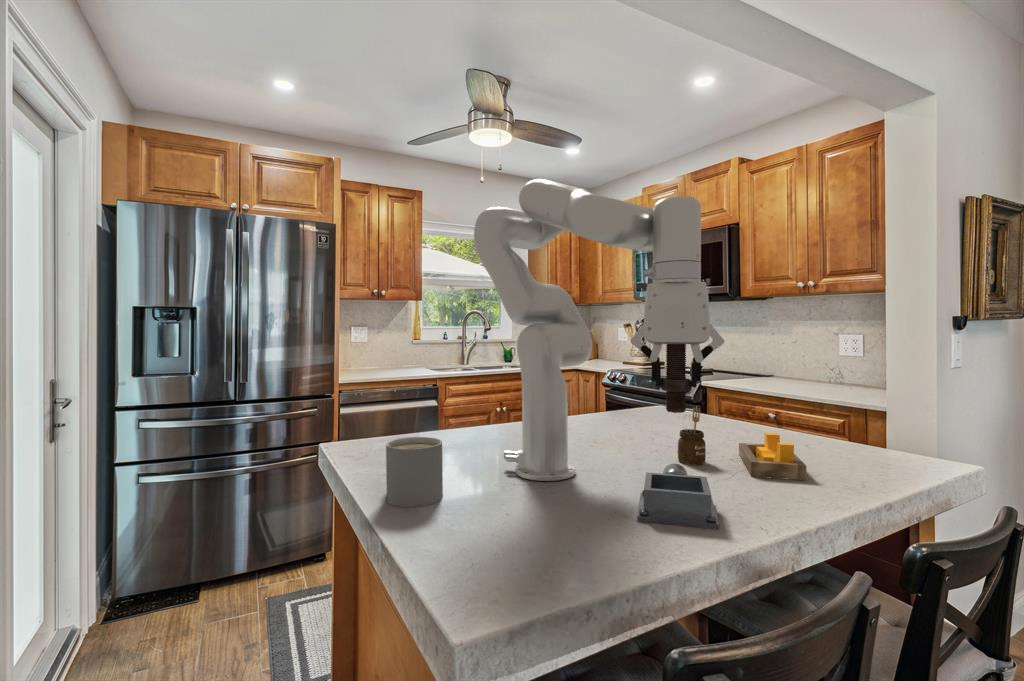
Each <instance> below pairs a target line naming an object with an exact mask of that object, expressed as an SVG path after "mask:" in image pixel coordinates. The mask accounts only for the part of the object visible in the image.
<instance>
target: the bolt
mask: <svg viewBox="0 0 1024 681" xmlns="http://www.w3.org/2000/svg"><path fill="white" fill-rule="evenodd" d="M683 324H684V323H682V324H681V325H683ZM682 328H684V326H683V327H682ZM665 356H666V357H665V377H663V378H662V379H661V386H659V387H660V389H661V390H662V391H664V392H665V395H666V396H665V397H666V398H665V399H666V400H665V410H666V411H667V412H668V413H674V414H680V413H681V414H683V413H685V412H686V411H687V410H686V409H687V408H686V407H687V406H686V403H687V400H686V399H687V395H686V392H690V390H692V388H693V387H692V381H691V378H687V373H686V372H687V371H686V370H687V367H686V366H687V344H665Z"/></svg>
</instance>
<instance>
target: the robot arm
mask: <svg viewBox="0 0 1024 681" xmlns="http://www.w3.org/2000/svg"><path fill="white" fill-rule="evenodd" d="M518 203H519V207H520V209H521V210H520V209H515V208H510V207H505V206H504V207H503V206H501V207H500V206H497V207H495V206H493V207H489V208H487V209H484V210H483V211H481V212H480V213H479V215H478V216H477V218H476V220H475V224H474V229H473V230H474V231H473V242H474V247H475V251H476V254H477V256H478V258H479V260H480V262H481V264H482V266H483V268H484V269H485V270H486V272H487V273H488V275H489V276H490V279H491V281H492V283H493V286H494V287H495V288H494V289H495V290H496V293H497V295H498V296H499V299H500V301H501V303H502V305H503V307H504V309H505V311H506V314H507V316H508V317H509V319H510V320H511V321H512V322H513V323H514V324H516V325H518V326H526V327H524V328H523V329H522V330H521V331H520V333H519V335H518V337H517V341H516V352H517V358H518V364H519V369H520V377H521V406H522V410H521V411H522V412H521V414H522V415H521V417H522V418H521V423H522V424H521V425H522V427H521V428H522V430H521V431H522V438H521V440H522V441H521V442H522V443H521V444H522V446H521V447H522V448H521V449H520V450H518V451H514V450H504V452H503V459H504V461H505V462H509V463H516V464H517V465H515V469H514V470H515V472H514V473H515V474H516V475H517V476H518V477H519V478H522V479H525V480H526V479H527V480H530V481H535V482H537V481H539V482H555V481H561V480H562V481H563V480H566V479H570V478H572V477H574V476H575V474H576V467H575V466H574V465H573V464H571V463H569V462H568V461H569V460H568V458H569V457H568V455H569V453H568V452H569V451H568V450H569V447H568V445H569V443H568V441H569V440H568V436H569V435H568V434H569V433H568V432H569V431H568V430H569V428H568V426H569V424H568V423H569V422H568V421H569V420H568V415H569V414H568V412H569V411H568V410H569V409H568V386H567V383H566V379H565V377H564V375H563V372H562V370H561V368H564V367H565V368H567V367H569V368H570V367H575V366H580V365H582V364H585V363H586V362H587V361H588V360H589V358H590V357H591V355H592V351H593V340H592V336H591V333H590V330H589V329H588V326H587V324H586V322H585V321H584V319H583V317H582V315H581V313H580V311H579V309H578V308H577V305H576V304H575V302H574V300H573V298H572V297H571V295H570V294H569V293H568V291H566V290H565V289H564V288H563V287H561V286H559V285H556V284H553V283H541V282H539V281H537V280H535V278H534V276H533V275H532V273H531V271H530V269H529V266H528V265H527V263H526V262H525V260H524V259H523V258H522V257H521V256H520V255H519V254H518V253H516V252H515V250H514V249H515V248H516V249H521V250H529V251H531V250H532V251H533V250H538V249H541V248H542V247H544V246H546V245H547V244H549V242H551V241H553V240H554V239H556V238H557V237H558V236H560V235H561V234H562V233H564V232H565V231H567V232H569V233H571V234H574V235H576V236H578V237H582V238H584V239H587V240H591V241H594V242H597V243H599V244H603V245H606V246H610V247H615V248H622V249H629V250H633V251H638V252H650V251H652V266H650V268H647V269H646V268H645V269H643V278H648V279H651V280H652V283H648V284H647V287H646V292H645V298H644V312H643V313H644V314H643V324H642V325H641V326H640V328H639V329H638V330H637V331H636V333H635V334H634V335H633V336H632V337H631V338H630V344H632V345H633V346H634V347H635V348H637V349H638V350H639V351H641V353H643V355H644V356H646V358H647V359H649V360H650V361H651V381H652V382H655V386H656V387H660V386H661V376H662V375H661V374H662V373H661V372H662V371H661V370H662V365H661V364H662V362H661V361H660V360H661V359H660V357H659V355H660V351H661V350H662V345H666V344H686V345H690V348H691V352H692V355H693V356H692V357H693V358H692V361H691V362H690V380H691V381H692V388H697V387H698V386H697V384H698V383H702V362H703V361H704V360H705V359H706V358H707V357H708V356H709V355H710V354H711V353H713V352H714V351H716V350H717V349H718V348H720V347H721V346H722V345H724V344H725V339H724V338H723V337H722V336H721V334H720V333H719V331H717V330H716V329H715V327H714V326H713V325H712V324H711V321H710V320H711V317H710V316H711V315H710V299H709V298H710V297H709V293H708V292H709V291H708V287H707V282H706V281H701V280H702V276H701V275H702V262H701V261H702V204H701V203H700V201H699V200H698V199H697V198H696V197H693V196H689V195H688V196H687V195H676V196H675V195H674V196H670V197H665V198H662V199H660V200H658V201H657V202H655V204H654V206H653V207H650V206H649V207H648V206H643V205H640V204H637V203H632V202H628V201H625V200H621V199H615V198H613V197H612V198H611V197H607V196H603V195H600V194H596V193H592V192H591V191H590V190H589V189H586V188H582V187H578V186H573V185H570V184H565V183H562V182H561V183H560V182H557V181H554V180H550V179H549V180H548V179H543V178H539V179H538V178H537V179H533V180H530V181H528V182H527V183H525V184H524V185H523V187H522V188H521V189H520V192H519V196H518ZM682 323H684V324H683V325H681V324H682ZM683 326H684V328H682V327H683ZM643 338H644V340H645V341H646V342H648V343H650V344H653V346H652V349H651V348H650V347H649V346H648V345H647V344H645V343H644V342H643V341H642V339H643ZM710 338H711V342H710V343H708V344H707V345H706V346H704V347H703V348H702V349H701V347H700V345H701V344H704V343H705V344H706V343H707V342H708V341H709V340H710Z"/></svg>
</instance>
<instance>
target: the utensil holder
mask: <svg viewBox="0 0 1024 681" xmlns="http://www.w3.org/2000/svg"><path fill="white" fill-rule="evenodd" d="M700 415H701V407H695V406H694V407H693V410H692V415H690V414H689V416H688V415H683V418H687V417H688V418H689V420H692V422H693V427H692V426H691V424H689V429H688V428H687V425H686V426H685V427H684V424H682V426H683V429H681V430H679V435H678V436H679V438H678V441H677V460H678V462H680V463H681V464H685V465H690V466H700V465H703V464H705V462H706V455H707V454H706V451H707V450H706V441H705V439H704V438H705V434H704V431H703V430H699V429H697V423H698V422H700ZM690 417H691V418H690ZM691 427H692V428H691Z"/></svg>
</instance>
